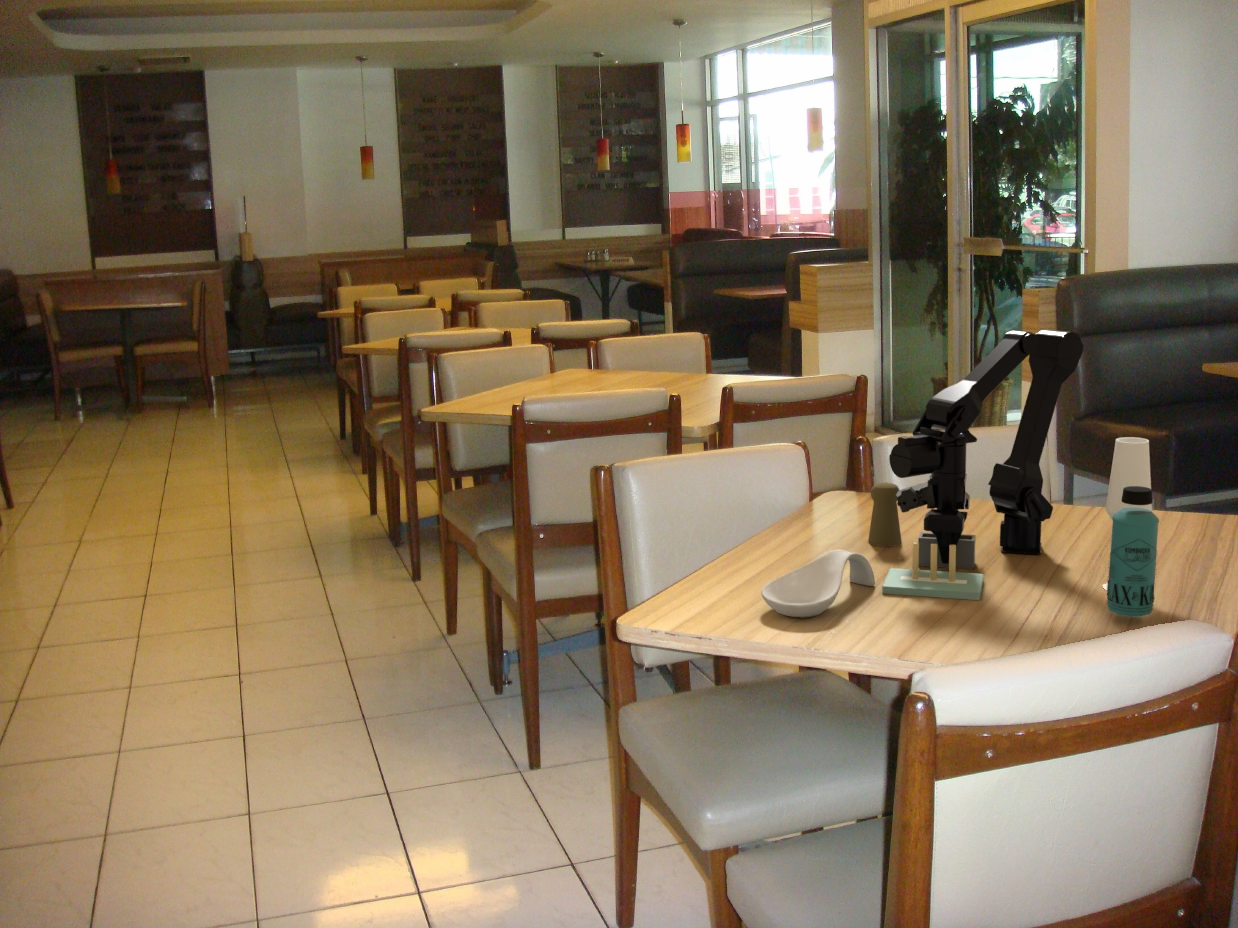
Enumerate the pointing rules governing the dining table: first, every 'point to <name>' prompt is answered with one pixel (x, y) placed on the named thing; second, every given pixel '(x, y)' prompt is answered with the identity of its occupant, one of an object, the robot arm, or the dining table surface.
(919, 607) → the dining table surface
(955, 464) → the robot arm
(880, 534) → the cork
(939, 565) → the plug housing
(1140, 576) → the beverage bottle
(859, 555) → the spoon rest
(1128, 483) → the white vase
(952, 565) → the header board
